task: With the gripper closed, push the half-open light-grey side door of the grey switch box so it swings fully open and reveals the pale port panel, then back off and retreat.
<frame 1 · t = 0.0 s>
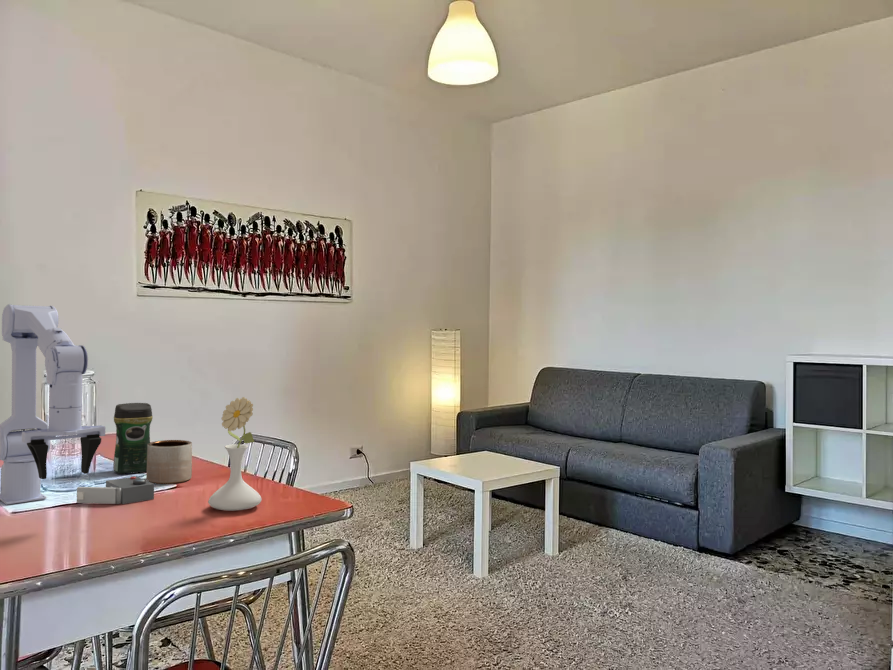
hand: (64, 475, 136), 10 cm above the table, fingers open, 7 cm apart
grey switch box: (129, 497, 160), on the table
side door: (98, 495, 153), point 2 cm above the table, hinge at 45.0°
coffee jar: (132, 472, 187), on the table
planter: (169, 480, 178), on the table
flower in vase: (236, 509, 152), on the table
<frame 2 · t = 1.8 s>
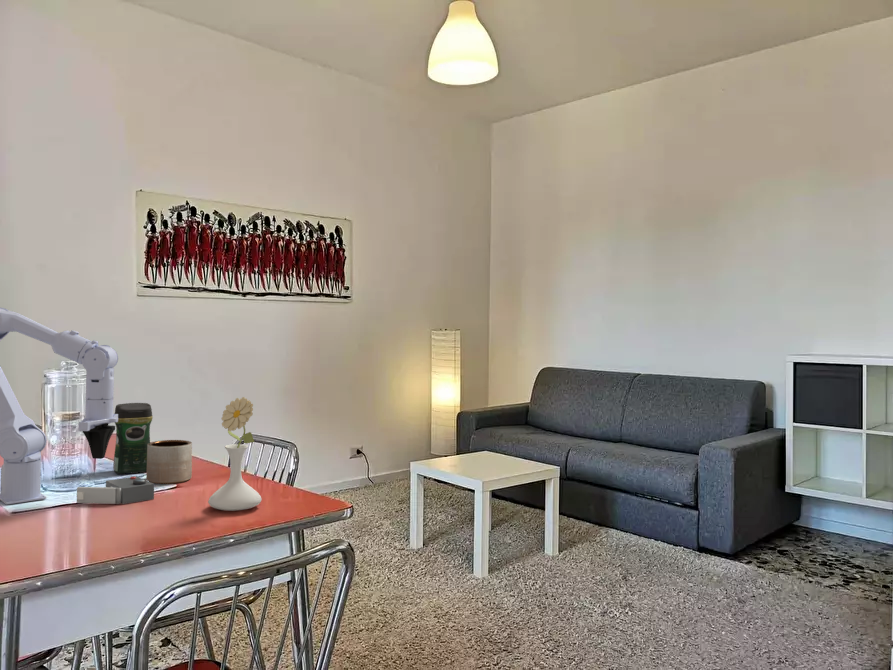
hand: (98, 458, 157), 9 cm above the table, fingers closed
nothing on the table moved.
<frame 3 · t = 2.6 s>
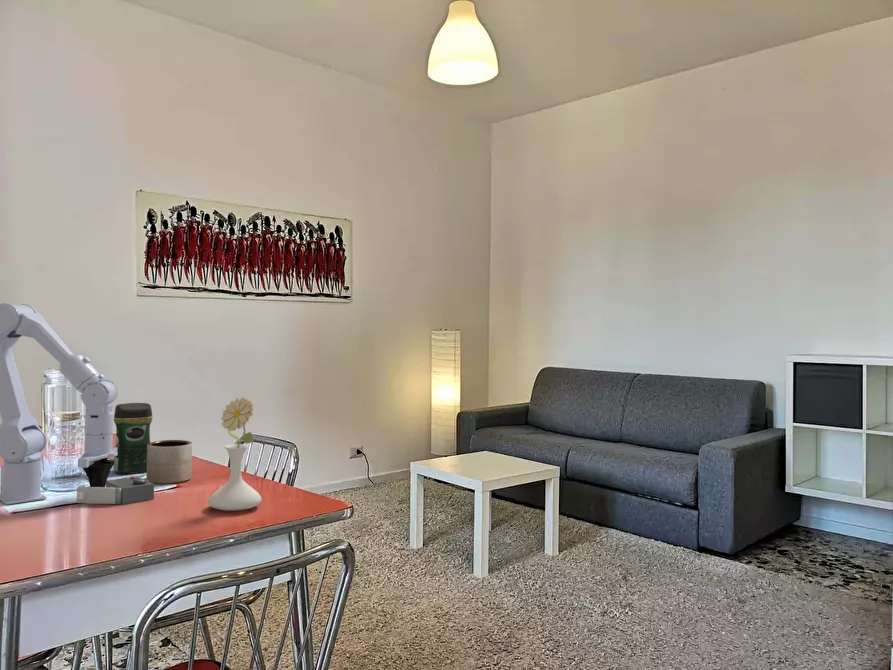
hand: (97, 492, 157), 1 cm above the table, fingers closed
nothing on the table moved.
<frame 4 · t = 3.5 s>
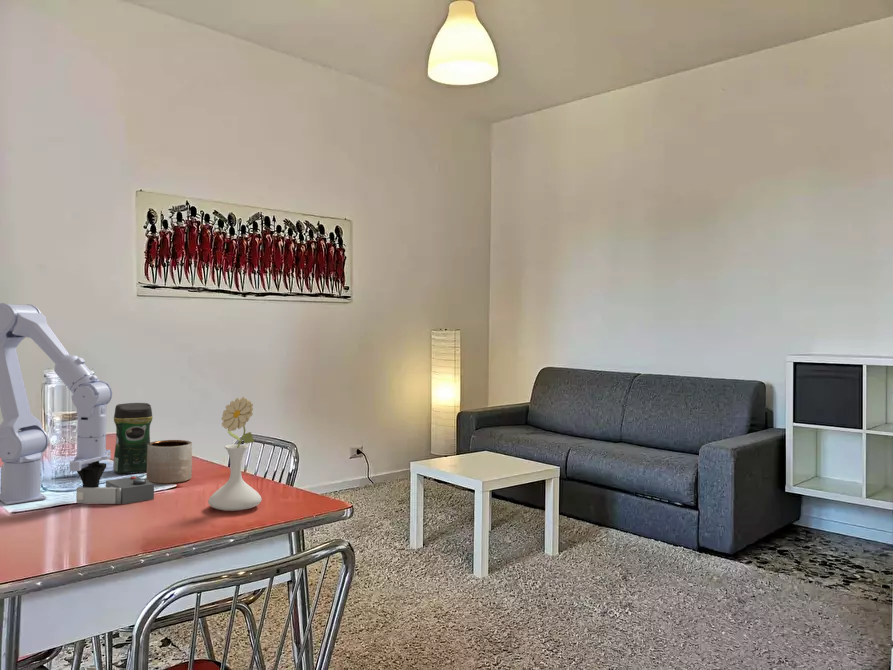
hand: (90, 496, 154), 1 cm above the table, fingers closed, pressing on side door
side door: (98, 495, 153), point 2 cm above the table, hinge at 46.0°, touching gripper
everything else where it was.
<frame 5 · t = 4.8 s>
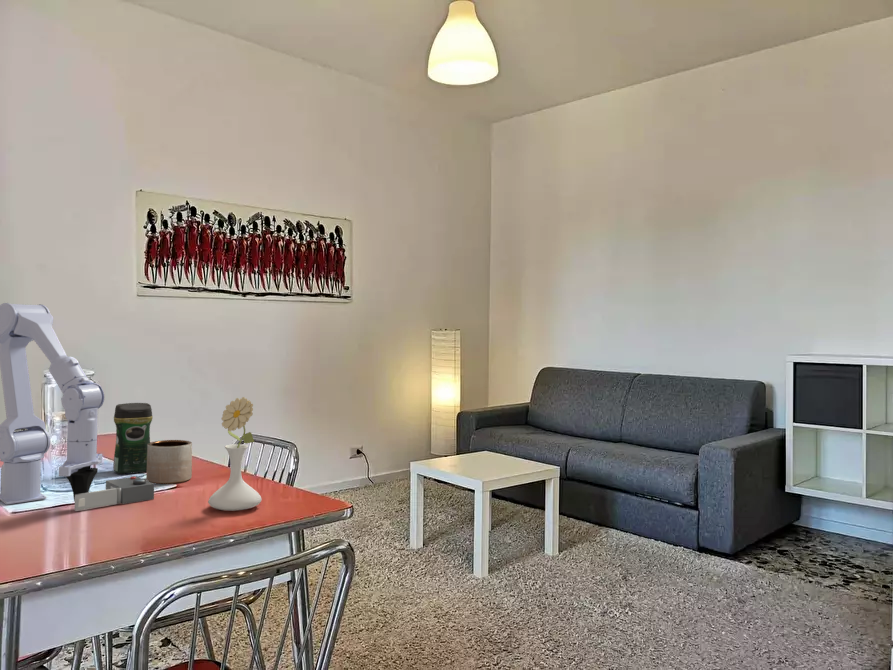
hand: (80, 502, 149), 1 cm above the table, fingers closed, pressing on side door
side door: (98, 499, 150), point 2 cm above the table, hinge at 92.0°, touching gripper
everything else where it was.
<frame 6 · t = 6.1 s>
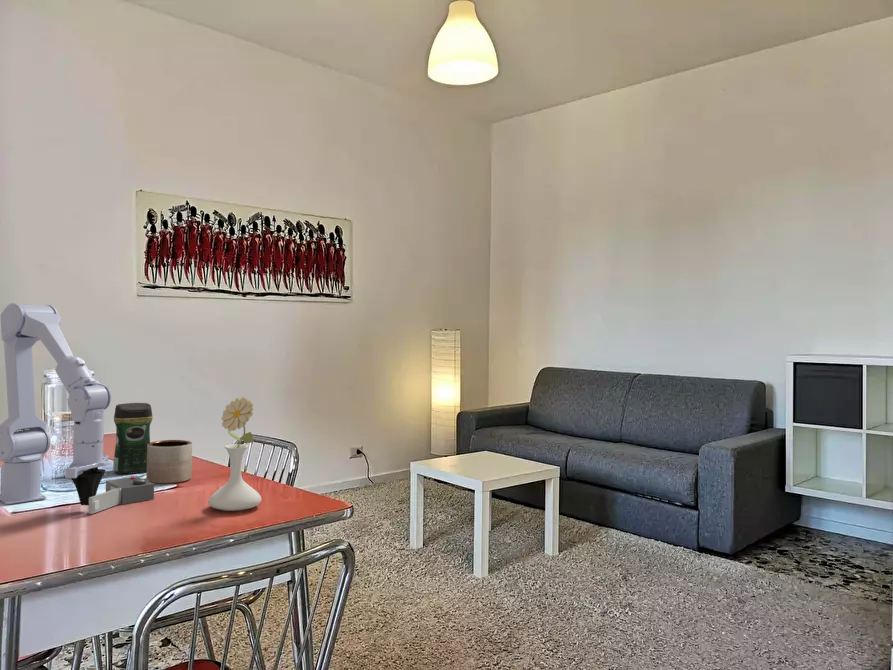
hand: (87, 504, 148), 1 cm above the table, fingers closed
side door: (106, 500, 149), point 2 cm above the table, hinge at 122.9°
everything else where it was.
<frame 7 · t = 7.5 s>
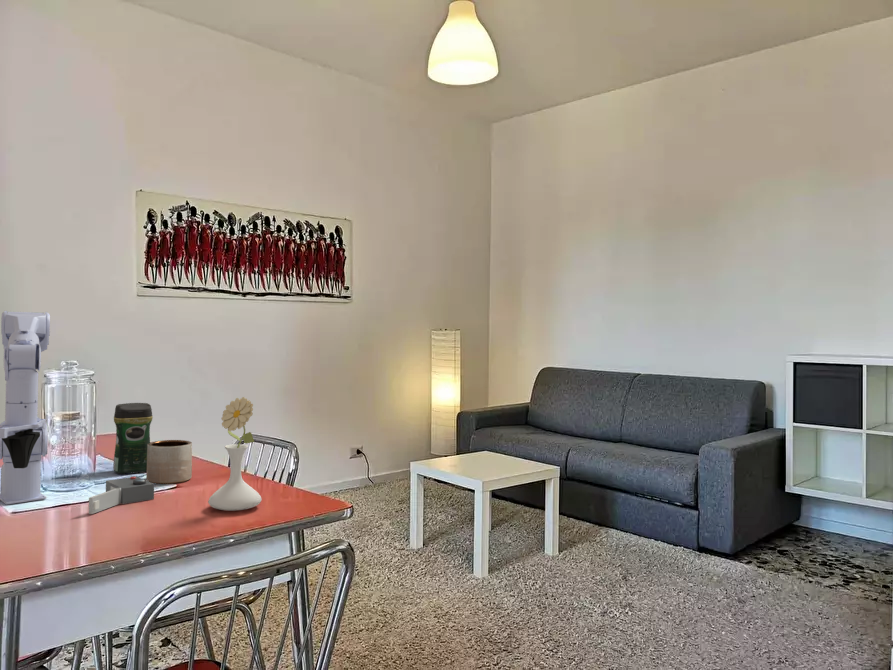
hand: (20, 467, 143), 10 cm above the table, fingers closed
nothing on the table moved.
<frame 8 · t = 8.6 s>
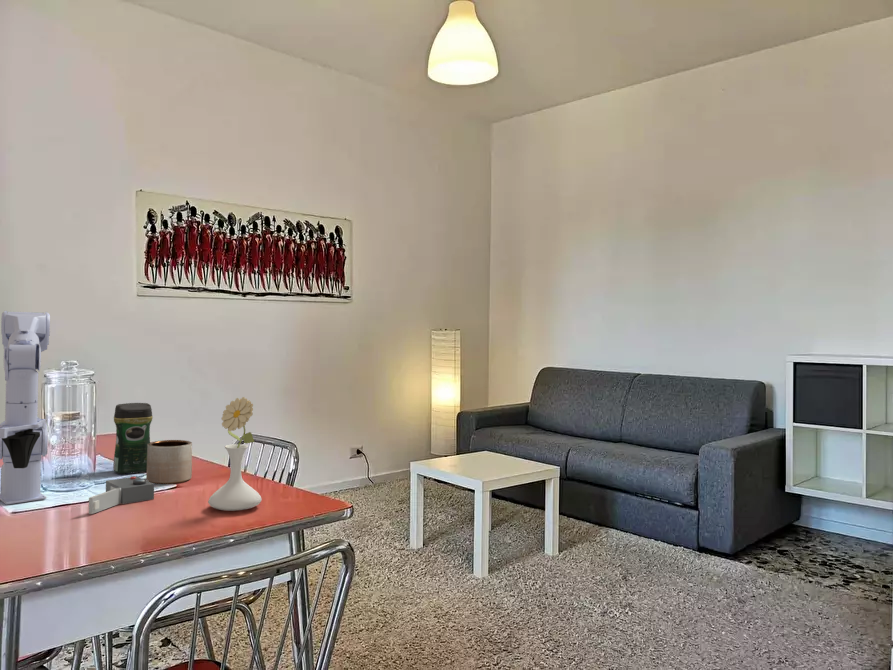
hand: (20, 467, 143), 10 cm above the table, fingers closed
nothing on the table moved.
at the end: side door at +123° (first picture: +45°); side door touching nothing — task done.
